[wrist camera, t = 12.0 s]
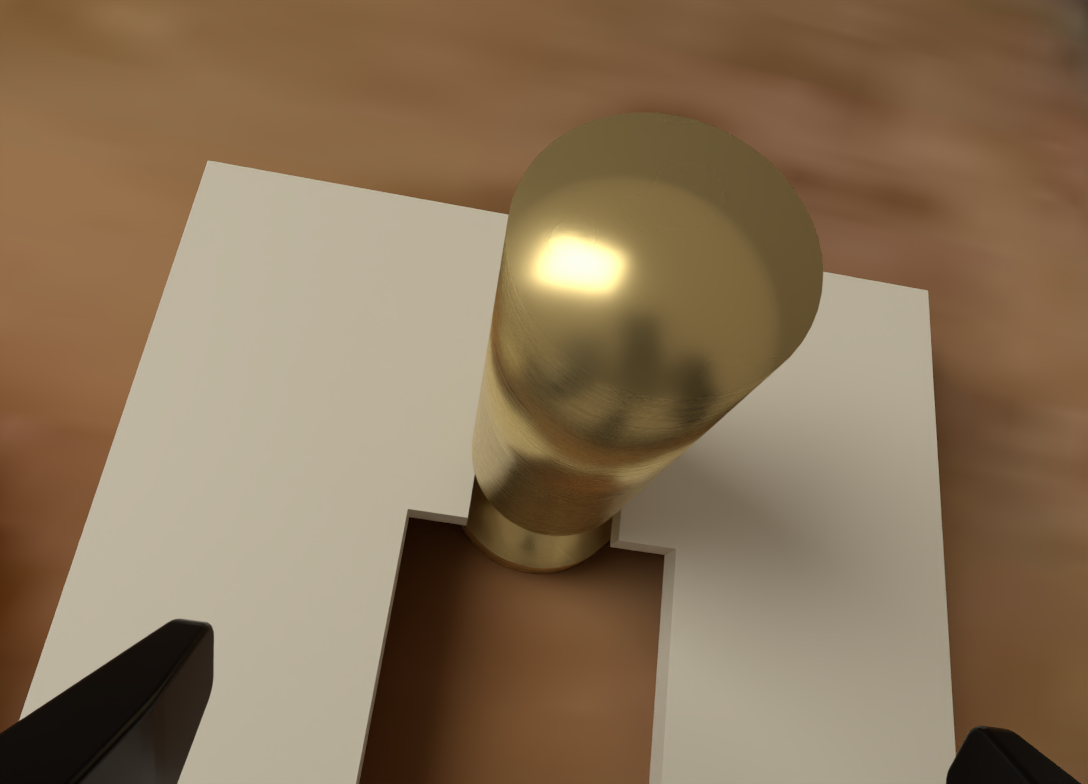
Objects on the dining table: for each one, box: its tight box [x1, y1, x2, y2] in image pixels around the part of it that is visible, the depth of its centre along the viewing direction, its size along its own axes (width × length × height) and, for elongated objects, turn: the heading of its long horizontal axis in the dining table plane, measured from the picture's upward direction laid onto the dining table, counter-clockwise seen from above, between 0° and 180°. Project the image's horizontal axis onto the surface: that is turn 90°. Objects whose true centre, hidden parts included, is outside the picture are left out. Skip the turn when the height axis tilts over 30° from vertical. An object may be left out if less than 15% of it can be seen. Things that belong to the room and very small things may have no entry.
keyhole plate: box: [19, 161, 956, 784], centre depth 20 cm, size 16×20×3 cm
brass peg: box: [461, 112, 823, 574], centre depth 16 cm, size 5×5×13 cm
